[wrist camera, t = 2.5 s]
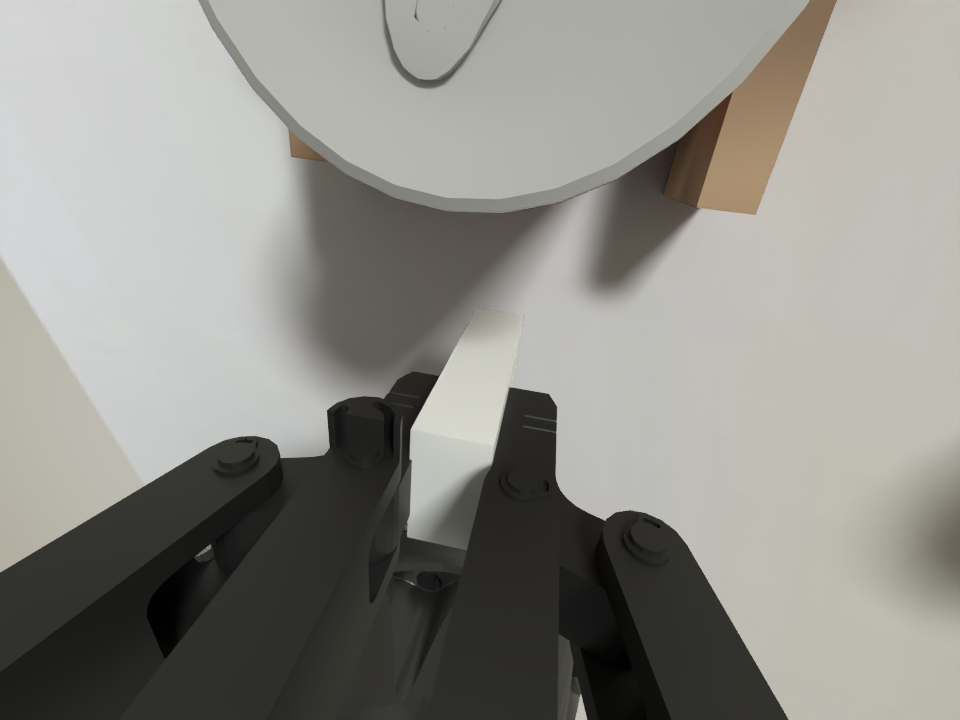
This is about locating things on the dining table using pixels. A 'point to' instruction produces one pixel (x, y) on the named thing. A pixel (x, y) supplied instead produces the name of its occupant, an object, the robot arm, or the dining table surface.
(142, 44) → the dining table surface
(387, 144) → the canned food
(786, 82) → the chute
